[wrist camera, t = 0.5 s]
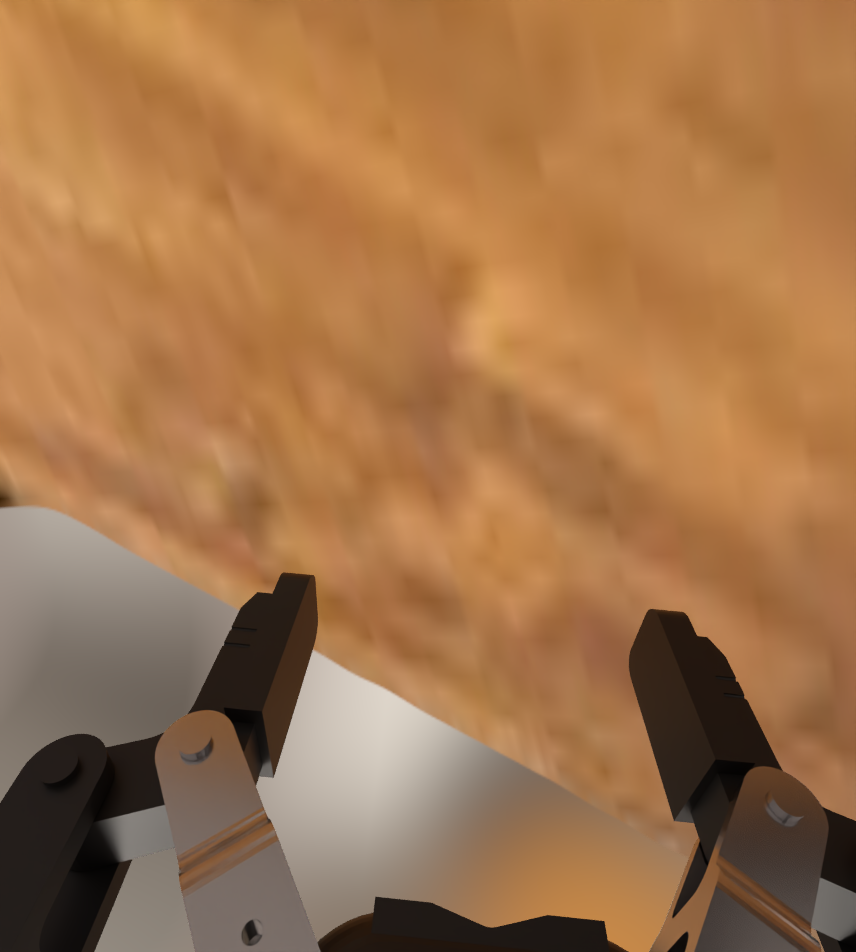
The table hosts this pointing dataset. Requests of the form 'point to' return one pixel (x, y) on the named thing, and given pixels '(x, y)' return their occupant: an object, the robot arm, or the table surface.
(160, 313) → the table surface
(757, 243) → the table surface
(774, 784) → the robot arm
